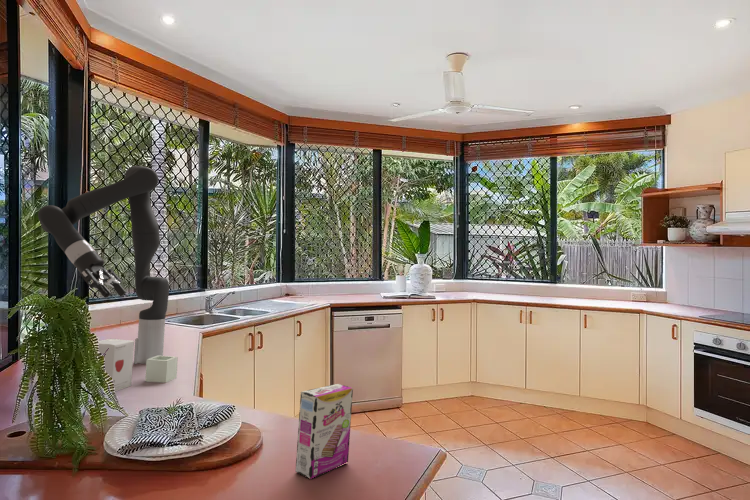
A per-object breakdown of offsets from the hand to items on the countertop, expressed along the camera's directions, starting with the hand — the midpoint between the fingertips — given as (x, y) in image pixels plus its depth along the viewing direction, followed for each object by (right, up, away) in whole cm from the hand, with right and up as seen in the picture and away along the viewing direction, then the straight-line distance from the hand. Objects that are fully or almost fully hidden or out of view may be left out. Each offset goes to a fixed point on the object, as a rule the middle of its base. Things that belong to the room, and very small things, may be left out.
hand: (116, 295), depth 155 cm
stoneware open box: (+13, -29, +4) cm, 32 cm away
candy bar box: (+73, -31, -55) cm, 97 cm away
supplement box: (+2, -29, -8) cm, 30 cm away
